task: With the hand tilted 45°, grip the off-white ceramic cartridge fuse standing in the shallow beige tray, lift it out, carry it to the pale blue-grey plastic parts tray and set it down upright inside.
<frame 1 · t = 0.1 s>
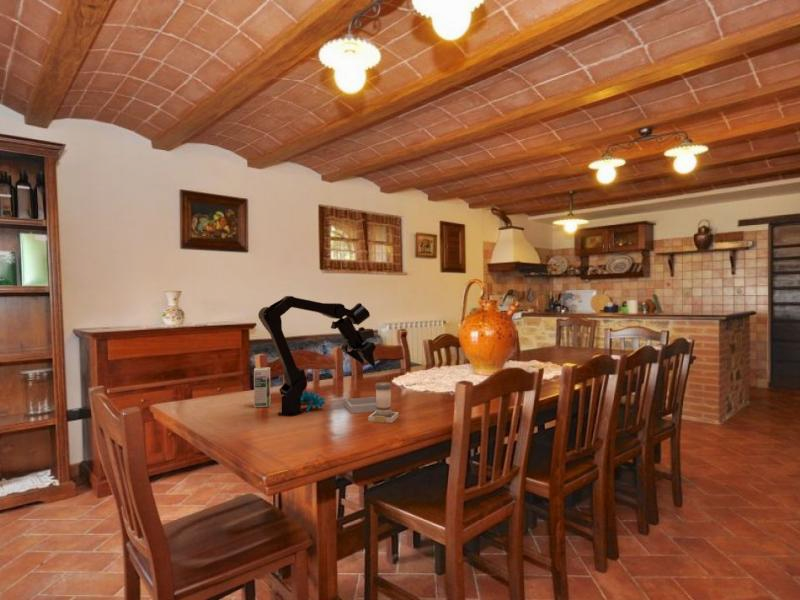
hand: (368, 364, 183), 15 cm above the table, tool tilted 35°, fingers open, 9 cm apart
parts tray: (364, 408, 174), on the table
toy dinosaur: (310, 410, 172), on the table
fuse: (383, 419, 158), resting in shallow beige tray
syrup box: (262, 406, 179), on the table
shallow beige tray: (383, 418, 158), on the table
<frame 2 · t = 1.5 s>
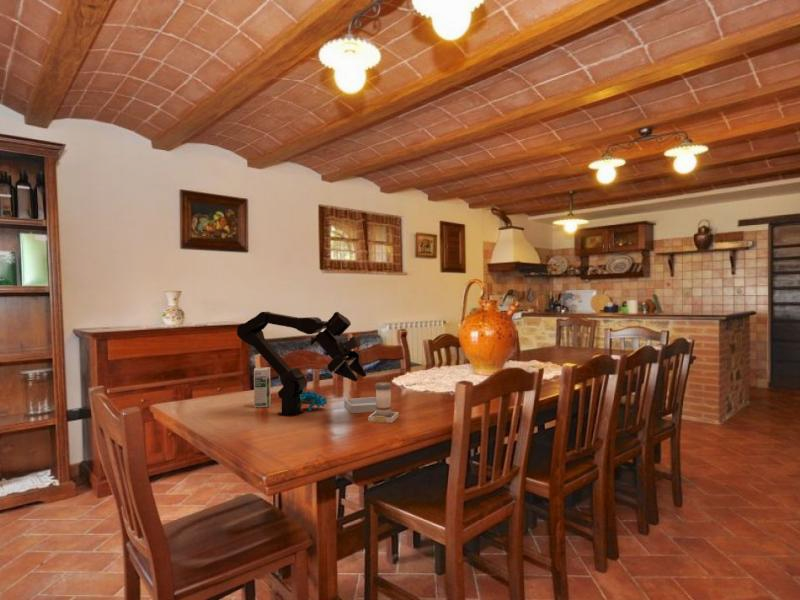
hand: (361, 378, 160), 13 cm above the table, tool tilted 45°, fingers open, 9 cm apart
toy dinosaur: (311, 409, 172), on the table, touching arm
everything else where it was.
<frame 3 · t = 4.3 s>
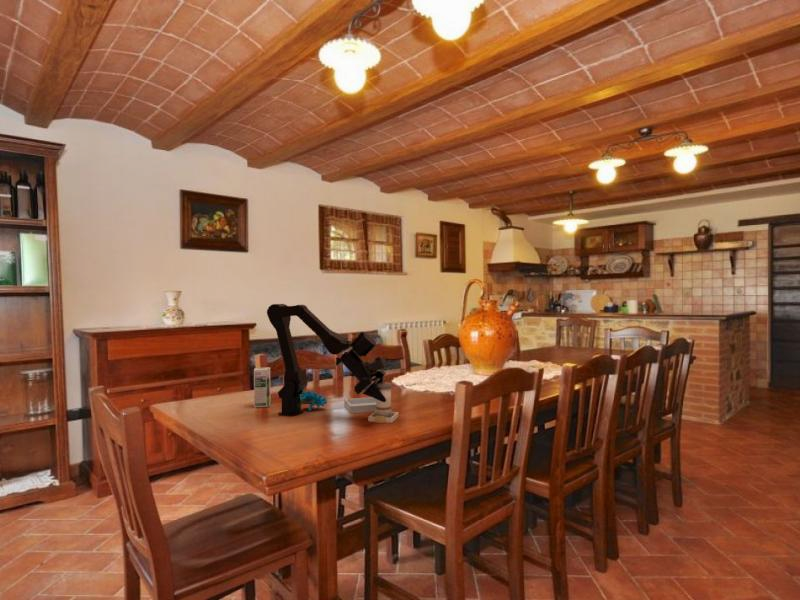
hand: (387, 399, 158), 7 cm above the table, tool tilted 45°, fingers closed on fuse, 5 cm apart
fuse: (383, 418, 158), resting in shallow beige tray, touching gripper
everything else where it was.
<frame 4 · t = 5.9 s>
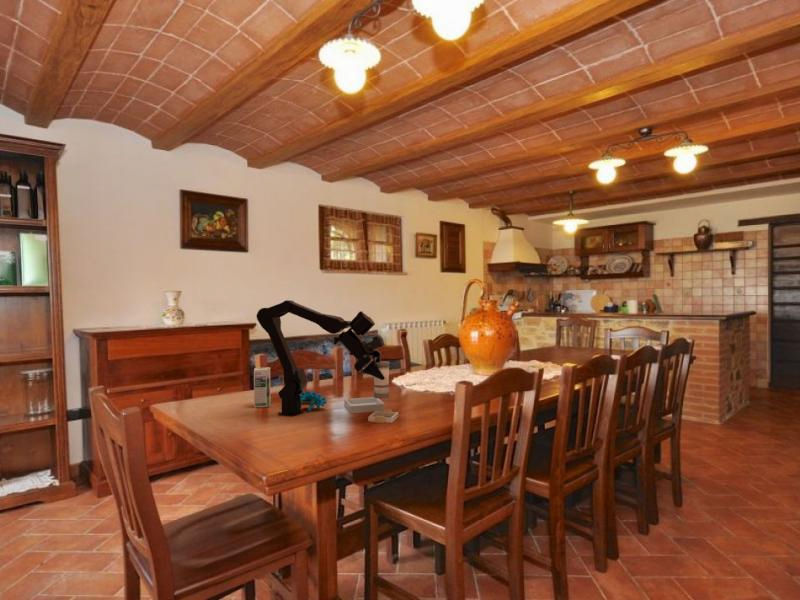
hand: (385, 377, 161), 13 cm above the table, tool tilted 45°, fingers closed on fuse, 5 cm apart
fuse: (381, 396, 161), point 7 cm above the table, touching gripper
everything else where it was.
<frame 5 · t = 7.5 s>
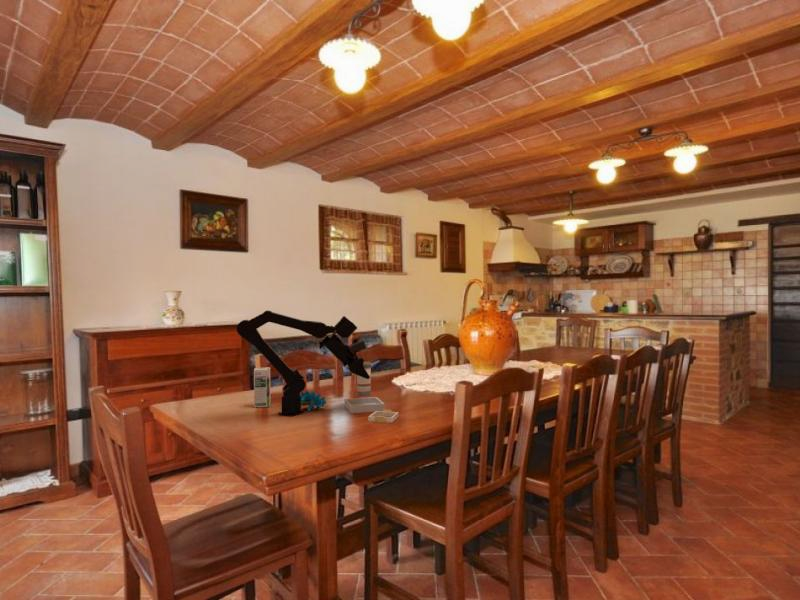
hand: (367, 377, 174), 11 cm above the table, tool tilted 45°, fingers closed on fuse, 5 cm apart
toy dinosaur: (311, 410, 172), on the table
fuse: (363, 394, 174), point 5 cm above the table, touching gripper
everything else where it was.
when the fingers open (9 cm above the table, at t = 8.5 s): fuse drops 1 cm, resting on parts tray.
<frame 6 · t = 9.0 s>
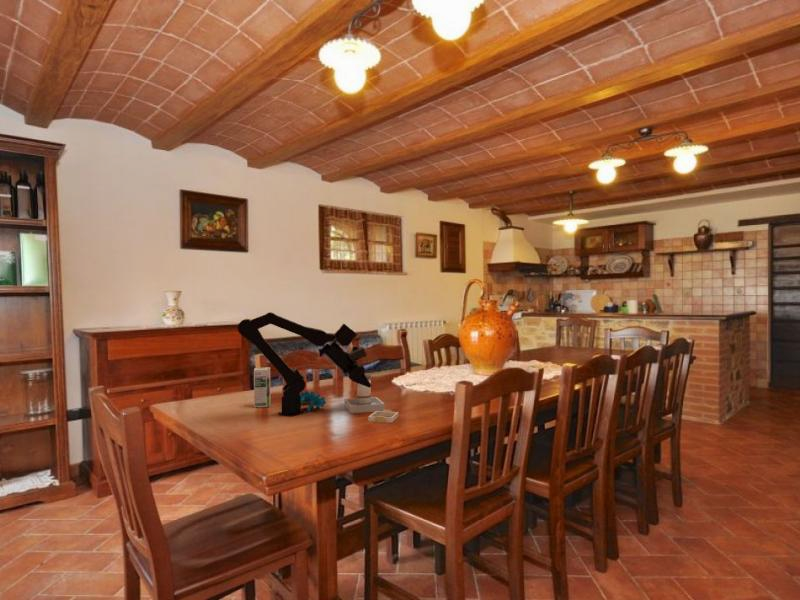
hand: (367, 384, 174), 9 cm above the table, tool tilted 45°, fingers open, 9 cm apart
fuse: (364, 406, 174), point 1 cm above the table, touching parts tray
everything else where it was.
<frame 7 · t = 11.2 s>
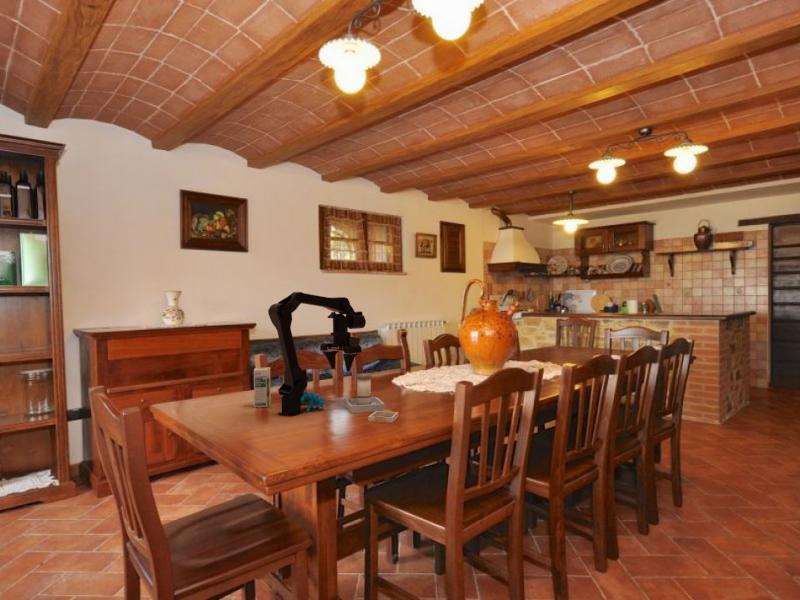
hand: (340, 370, 180), 13 cm above the table, tool pointing down, fingers open, 9 cm apart
nothing on the table moved.
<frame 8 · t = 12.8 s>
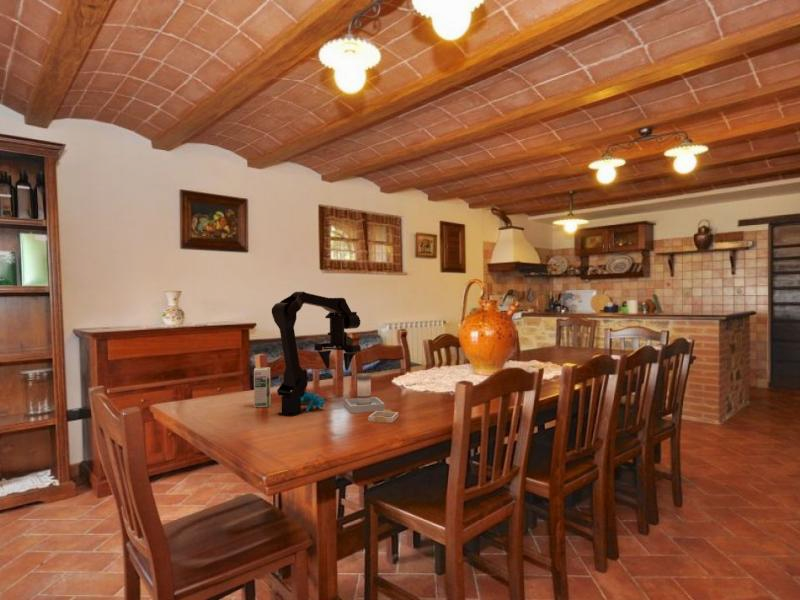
hand: (337, 369, 184), 13 cm above the table, tool pointing down, fingers open, 9 cm apart
nothing on the table moved.
at the end: fuse inside the target area on the parts tray (0.0 cm from its centre), point 0.6 cm above the parts tray's base; fuse tilted 0°; the gripper is holding nothing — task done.
